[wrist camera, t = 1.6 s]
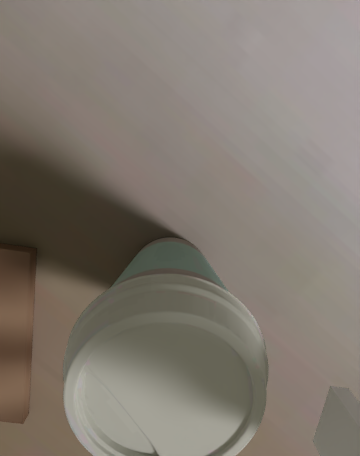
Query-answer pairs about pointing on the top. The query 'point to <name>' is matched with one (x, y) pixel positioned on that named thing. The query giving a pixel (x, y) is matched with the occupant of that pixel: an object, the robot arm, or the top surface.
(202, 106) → the top surface
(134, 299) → the coffee cup
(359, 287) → the top surface
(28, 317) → the wooden stand
